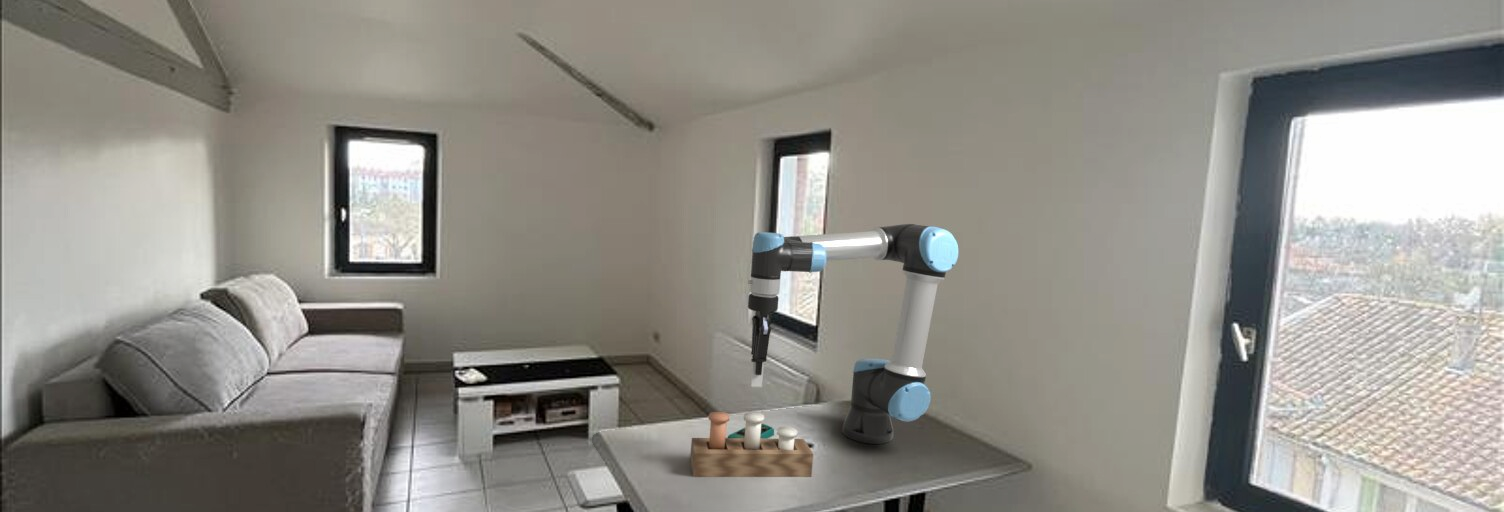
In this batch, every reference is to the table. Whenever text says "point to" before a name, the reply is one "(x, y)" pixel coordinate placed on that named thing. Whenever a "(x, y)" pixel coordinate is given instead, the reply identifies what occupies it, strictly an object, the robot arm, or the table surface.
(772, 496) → the table surface
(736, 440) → the board
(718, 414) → the plug terracotta
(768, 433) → the digital multimeter
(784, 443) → the plug near
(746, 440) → the plug mid
